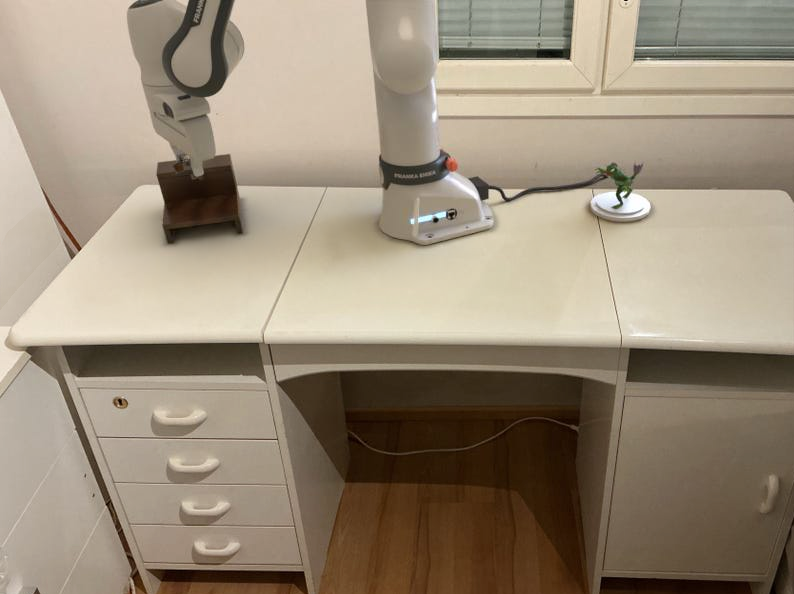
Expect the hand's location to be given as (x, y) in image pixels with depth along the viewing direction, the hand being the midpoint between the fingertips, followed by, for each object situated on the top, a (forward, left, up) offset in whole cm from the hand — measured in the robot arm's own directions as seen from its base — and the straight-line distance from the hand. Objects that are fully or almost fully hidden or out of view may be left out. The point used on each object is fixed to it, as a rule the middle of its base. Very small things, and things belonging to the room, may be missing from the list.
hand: (190, 169), depth 145 cm
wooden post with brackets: (0, -1, -2) cm, 2 cm away
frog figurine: (-81, +17, -12) cm, 84 cm away
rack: (0, -3, -12) cm, 12 cm away
